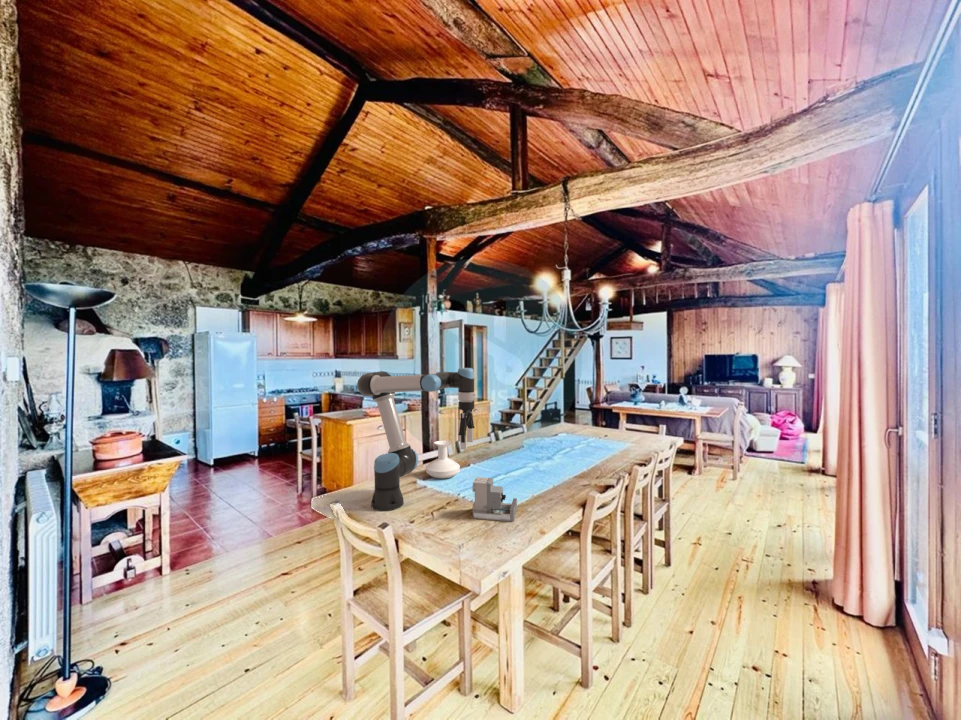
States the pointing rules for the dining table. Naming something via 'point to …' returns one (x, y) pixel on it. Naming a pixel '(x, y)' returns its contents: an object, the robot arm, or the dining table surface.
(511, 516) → the channel
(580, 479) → the dining table surface
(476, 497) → the circuit breaker
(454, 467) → the white vase
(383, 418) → the robot arm
